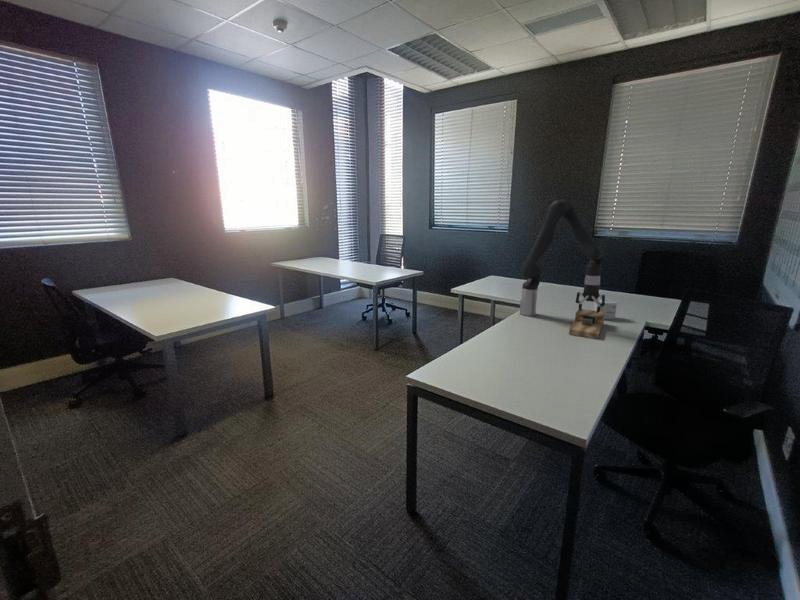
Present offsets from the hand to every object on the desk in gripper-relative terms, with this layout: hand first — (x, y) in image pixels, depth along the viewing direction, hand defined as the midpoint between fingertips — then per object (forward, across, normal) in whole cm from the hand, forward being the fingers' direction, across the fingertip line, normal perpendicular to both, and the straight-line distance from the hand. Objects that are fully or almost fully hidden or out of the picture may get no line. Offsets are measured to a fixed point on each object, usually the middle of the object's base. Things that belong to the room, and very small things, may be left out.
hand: (589, 311), depth 204 cm
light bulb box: (+11, +6, +29) cm, 32 cm away
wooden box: (+11, 0, +1) cm, 11 cm away
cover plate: (+8, 0, +5) cm, 9 cm away
